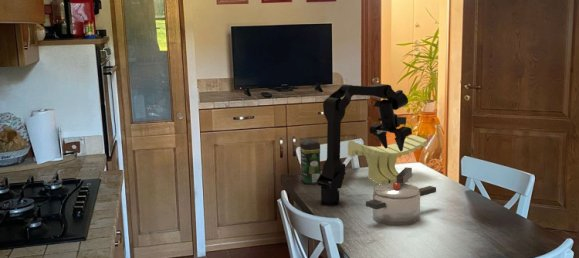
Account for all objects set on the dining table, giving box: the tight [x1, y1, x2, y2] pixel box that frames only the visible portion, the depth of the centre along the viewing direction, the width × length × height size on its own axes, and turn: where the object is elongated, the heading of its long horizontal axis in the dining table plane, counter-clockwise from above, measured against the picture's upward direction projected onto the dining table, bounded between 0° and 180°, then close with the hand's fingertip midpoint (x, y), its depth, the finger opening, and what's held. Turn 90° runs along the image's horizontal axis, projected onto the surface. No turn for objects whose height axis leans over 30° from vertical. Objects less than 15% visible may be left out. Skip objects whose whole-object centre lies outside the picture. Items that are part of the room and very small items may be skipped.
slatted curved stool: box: [347, 134, 428, 185], centre depth 256 cm, size 30×16×18 cm, turn 105°
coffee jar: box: [299, 138, 322, 185], centre depth 255 cm, size 10×8×19 cm
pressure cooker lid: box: [373, 167, 420, 199], centre depth 208 cm, size 27×15×4 cm, turn 156°
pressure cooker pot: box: [365, 185, 437, 227], centre depth 206 cm, size 31×16×9 cm, turn 126°
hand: (393, 149), depth 242 cm, fingers open, 8 cm apart
